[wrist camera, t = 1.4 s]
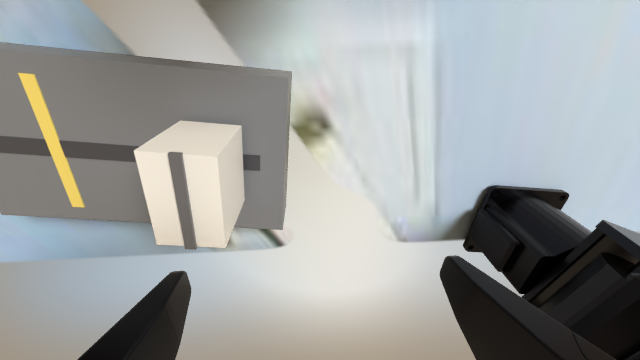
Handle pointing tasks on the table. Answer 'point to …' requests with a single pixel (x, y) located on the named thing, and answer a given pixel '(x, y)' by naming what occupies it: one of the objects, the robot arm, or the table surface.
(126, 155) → the fader console
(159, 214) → the fader tab
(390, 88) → the table surface
